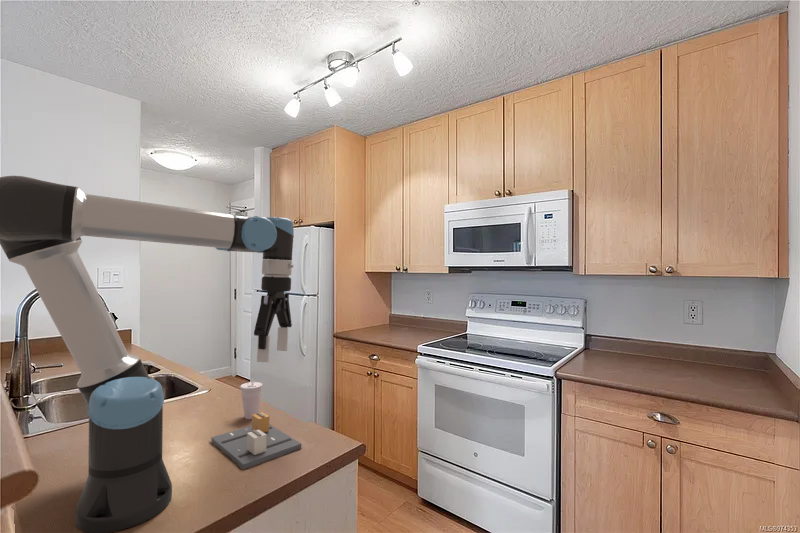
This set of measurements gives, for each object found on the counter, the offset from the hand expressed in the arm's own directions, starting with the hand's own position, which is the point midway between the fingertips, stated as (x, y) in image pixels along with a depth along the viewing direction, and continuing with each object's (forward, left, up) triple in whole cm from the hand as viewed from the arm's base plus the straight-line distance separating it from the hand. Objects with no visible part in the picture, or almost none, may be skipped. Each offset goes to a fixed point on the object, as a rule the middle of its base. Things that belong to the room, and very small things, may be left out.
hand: (273, 355), depth 106 cm
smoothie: (+3, +18, -22) cm, 29 cm away
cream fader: (-7, -6, -21) cm, 23 cm away
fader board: (-5, 0, -22) cm, 23 cm away
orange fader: (-1, +4, -21) cm, 21 cm away
